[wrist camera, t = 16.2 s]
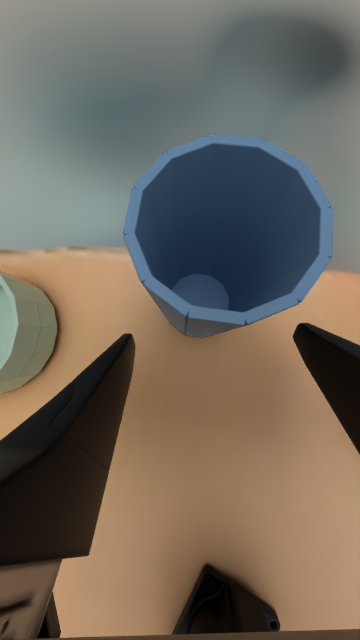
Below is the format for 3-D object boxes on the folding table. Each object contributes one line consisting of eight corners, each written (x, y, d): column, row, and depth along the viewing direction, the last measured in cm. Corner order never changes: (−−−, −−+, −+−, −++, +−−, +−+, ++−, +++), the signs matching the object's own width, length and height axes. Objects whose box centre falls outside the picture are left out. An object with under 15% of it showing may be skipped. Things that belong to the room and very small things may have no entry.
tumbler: (180, 347, 16) (169, 357, 5) (155, 287, 17) (99, 174, 6) (241, 321, 16) (374, 273, 5) (214, 263, 17) (274, 109, 6)
